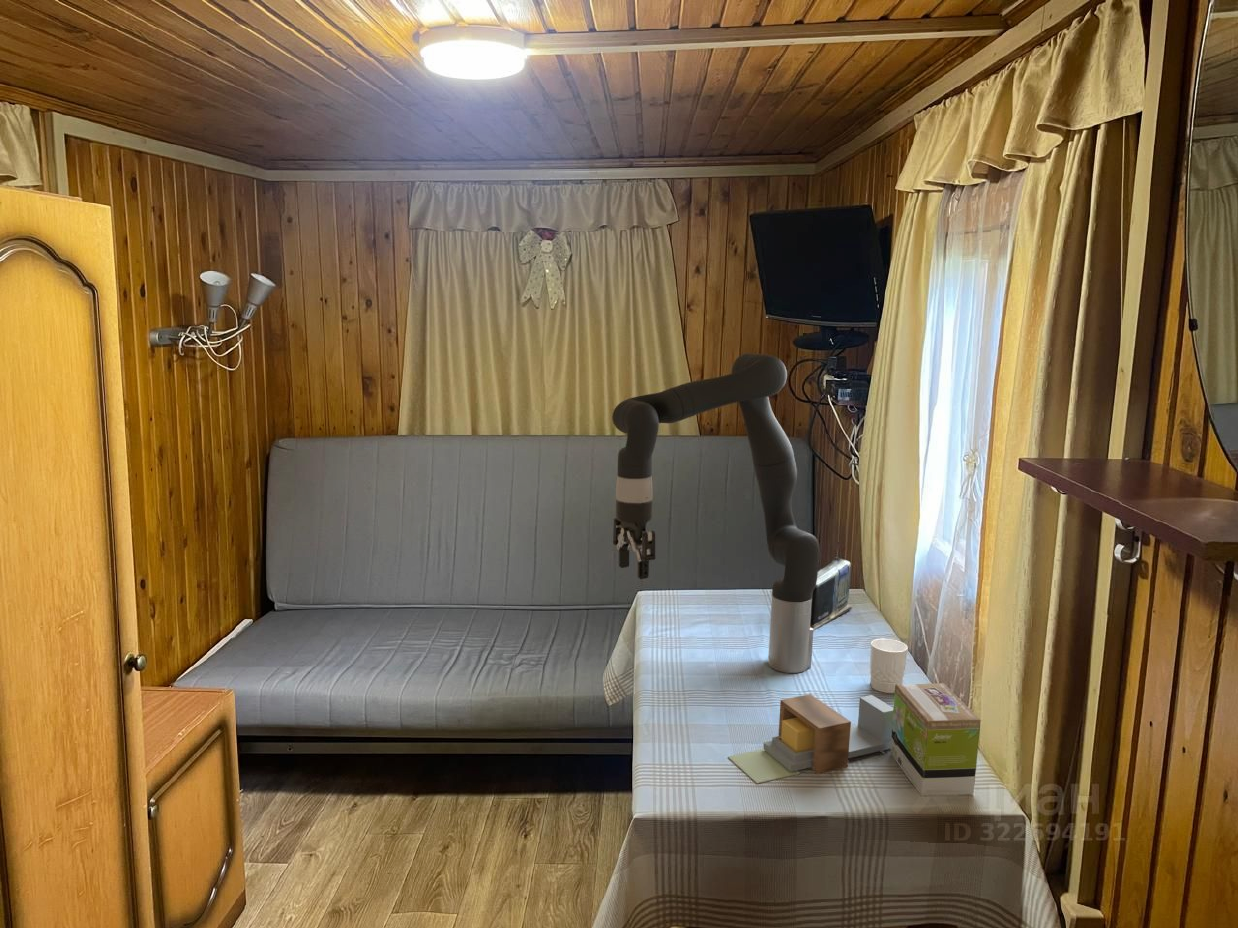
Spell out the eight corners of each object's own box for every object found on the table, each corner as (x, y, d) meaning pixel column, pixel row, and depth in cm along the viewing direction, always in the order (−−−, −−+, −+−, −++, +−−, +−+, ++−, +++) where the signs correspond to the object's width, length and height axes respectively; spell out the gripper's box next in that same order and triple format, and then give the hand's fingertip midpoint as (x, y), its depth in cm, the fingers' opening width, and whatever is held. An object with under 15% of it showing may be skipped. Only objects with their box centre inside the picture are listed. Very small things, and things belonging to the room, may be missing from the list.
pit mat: (850, 730, 178) (850, 729, 178) (883, 754, 169) (883, 753, 169) (817, 737, 175) (817, 736, 175) (850, 761, 166) (850, 760, 166)
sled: (866, 726, 179) (868, 692, 178) (896, 747, 171) (899, 711, 170) (763, 748, 169) (765, 713, 168) (790, 771, 161) (793, 734, 160)
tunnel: (807, 736, 176) (810, 694, 174) (847, 766, 164) (851, 721, 163) (778, 742, 173) (780, 699, 171) (816, 773, 162) (819, 728, 160)
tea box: (887, 754, 169) (893, 681, 167) (938, 753, 170) (945, 681, 168) (920, 797, 155) (927, 719, 152) (975, 796, 156) (983, 717, 153)
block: (802, 740, 170) (804, 716, 169) (818, 752, 166) (820, 727, 165) (780, 744, 168) (782, 720, 167) (796, 757, 164) (797, 732, 163)
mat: (768, 748, 170) (768, 747, 170) (799, 773, 161) (799, 772, 161) (728, 757, 167) (728, 756, 167) (757, 783, 158) (757, 782, 158)
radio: (810, 632, 232) (813, 578, 229) (783, 623, 238) (786, 570, 235) (858, 612, 247) (862, 561, 245) (831, 604, 254) (835, 554, 251)
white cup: (906, 683, 201) (909, 642, 199) (901, 697, 194) (905, 654, 192) (870, 677, 204) (874, 636, 203) (864, 690, 197) (868, 647, 196)
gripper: (667, 502, 178) (665, 579, 181) (633, 488, 191) (632, 561, 194) (634, 506, 175) (633, 584, 178) (602, 492, 187) (602, 565, 190)
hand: (633, 572), depth 186 cm, fingers open, 8 cm apart
